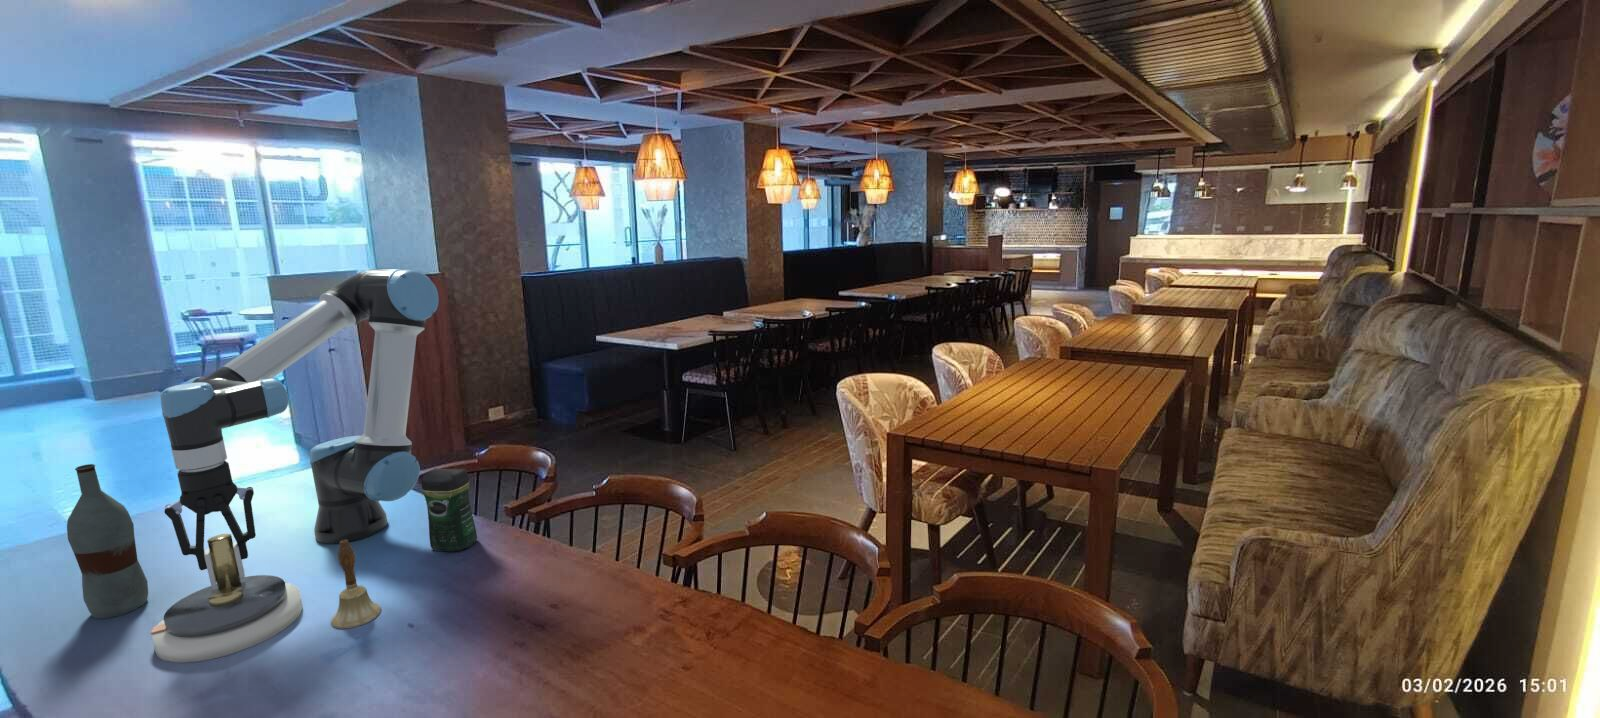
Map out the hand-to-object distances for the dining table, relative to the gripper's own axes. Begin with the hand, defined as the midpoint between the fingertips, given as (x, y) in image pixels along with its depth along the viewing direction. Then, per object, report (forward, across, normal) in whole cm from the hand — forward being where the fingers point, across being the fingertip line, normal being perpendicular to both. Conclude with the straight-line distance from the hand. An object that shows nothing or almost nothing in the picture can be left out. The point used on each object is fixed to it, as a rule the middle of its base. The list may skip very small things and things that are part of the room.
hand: (228, 578), depth 139 cm
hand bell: (+8, -18, +19) cm, 27 cm away
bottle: (+7, +18, -18) cm, 26 cm away
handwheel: (+4, +1, +6) cm, 7 cm away
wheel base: (+7, +1, +6) cm, 10 cm away
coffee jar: (+8, -40, -1) cm, 41 cm away
